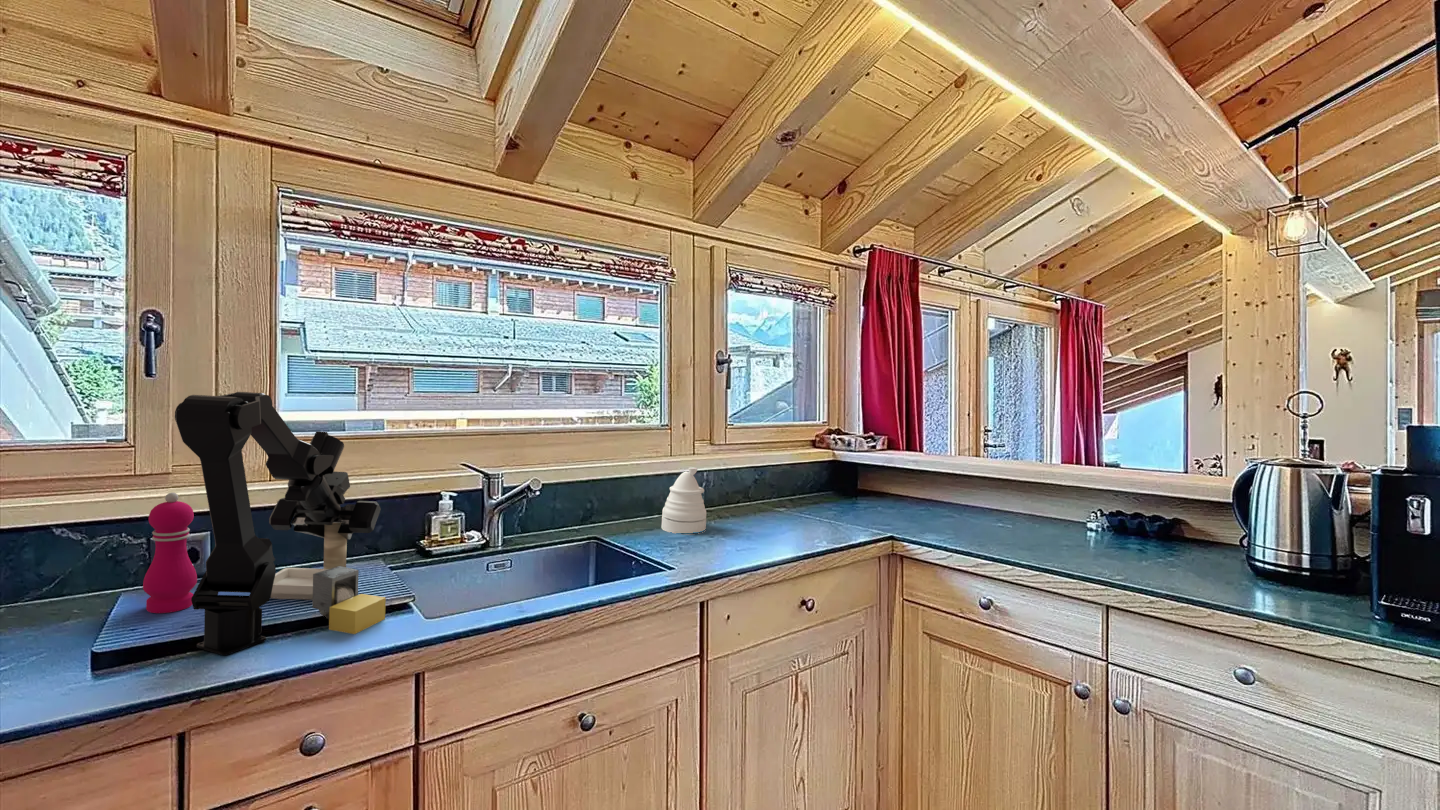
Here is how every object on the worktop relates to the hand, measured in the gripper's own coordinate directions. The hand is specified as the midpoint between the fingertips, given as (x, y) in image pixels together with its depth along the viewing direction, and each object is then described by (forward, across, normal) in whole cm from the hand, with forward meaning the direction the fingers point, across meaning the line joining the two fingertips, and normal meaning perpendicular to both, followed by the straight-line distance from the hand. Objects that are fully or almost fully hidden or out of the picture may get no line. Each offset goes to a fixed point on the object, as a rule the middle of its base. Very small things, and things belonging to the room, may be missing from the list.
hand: (338, 536), depth 137 cm
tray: (-2, +1, +13) cm, 13 cm away
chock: (-13, -15, +24) cm, 31 cm away
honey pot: (+39, -74, -28) cm, 88 cm away
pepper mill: (-9, +18, +20) cm, 29 cm away
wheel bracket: (-11, -10, +22) cm, 26 cm away
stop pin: (+4, 0, +6) cm, 7 cm away
